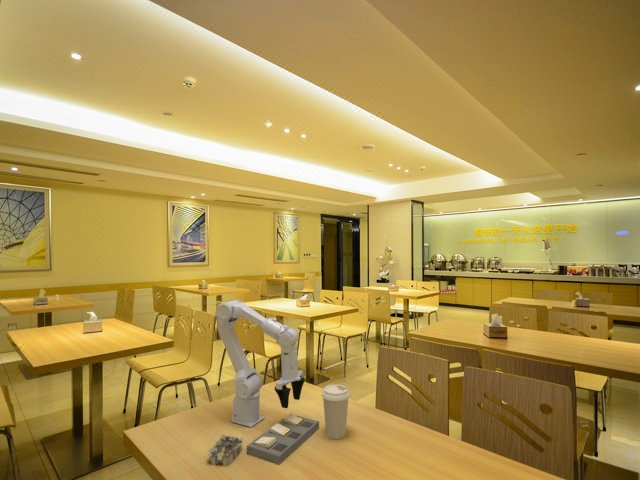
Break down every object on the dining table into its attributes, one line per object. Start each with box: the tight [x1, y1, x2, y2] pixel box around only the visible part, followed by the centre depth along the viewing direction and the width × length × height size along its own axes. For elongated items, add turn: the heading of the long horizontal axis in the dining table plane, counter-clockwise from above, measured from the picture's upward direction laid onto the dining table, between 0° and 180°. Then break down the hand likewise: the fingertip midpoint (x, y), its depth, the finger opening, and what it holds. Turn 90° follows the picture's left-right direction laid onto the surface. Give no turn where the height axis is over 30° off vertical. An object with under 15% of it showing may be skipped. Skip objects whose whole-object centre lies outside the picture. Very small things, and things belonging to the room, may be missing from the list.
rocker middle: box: [269, 422, 290, 437], centre depth 116 cm, size 5×4×1 cm
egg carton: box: [207, 434, 244, 467], centre depth 106 cm, size 11×8×4 cm
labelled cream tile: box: [283, 413, 303, 426], centre depth 123 cm, size 5×4×1 cm
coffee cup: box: [321, 384, 351, 440], centre depth 118 cm, size 10×10×15 cm
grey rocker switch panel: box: [246, 414, 320, 465], centre depth 115 cm, size 12×24×2 cm, turn 152°
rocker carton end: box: [255, 437, 276, 448], centre depth 109 cm, size 5×4×1 cm
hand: (290, 403), depth 123 cm, fingers open, 7 cm apart
